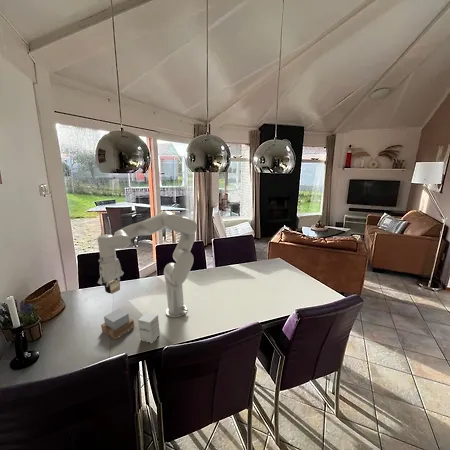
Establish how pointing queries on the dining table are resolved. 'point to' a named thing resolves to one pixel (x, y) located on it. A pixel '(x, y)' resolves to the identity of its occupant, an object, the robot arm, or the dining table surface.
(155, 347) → the dining table surface
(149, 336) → the supplement box
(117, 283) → the ash cube
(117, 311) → the top block
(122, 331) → the base block
